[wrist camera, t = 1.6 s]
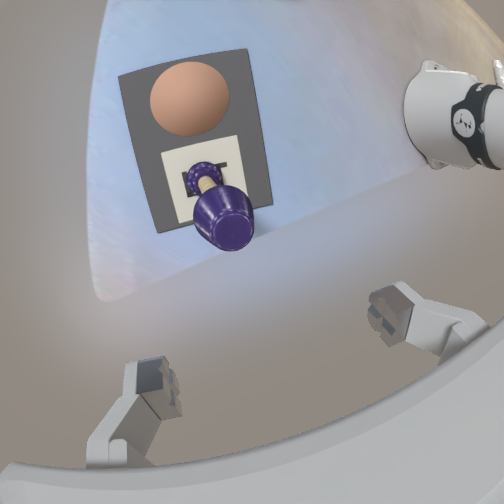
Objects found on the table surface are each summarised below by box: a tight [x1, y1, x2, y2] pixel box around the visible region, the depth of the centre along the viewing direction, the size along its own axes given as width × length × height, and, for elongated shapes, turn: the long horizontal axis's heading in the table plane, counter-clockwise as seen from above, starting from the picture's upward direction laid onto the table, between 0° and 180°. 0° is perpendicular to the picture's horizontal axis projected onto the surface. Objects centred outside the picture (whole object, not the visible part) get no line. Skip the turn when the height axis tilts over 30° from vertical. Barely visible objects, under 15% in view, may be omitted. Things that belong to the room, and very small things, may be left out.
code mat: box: [118, 49, 273, 233], centre depth 31 cm, size 15×20×1 cm
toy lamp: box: [186, 161, 254, 251], centre depth 26 cm, size 5×5×17 cm
